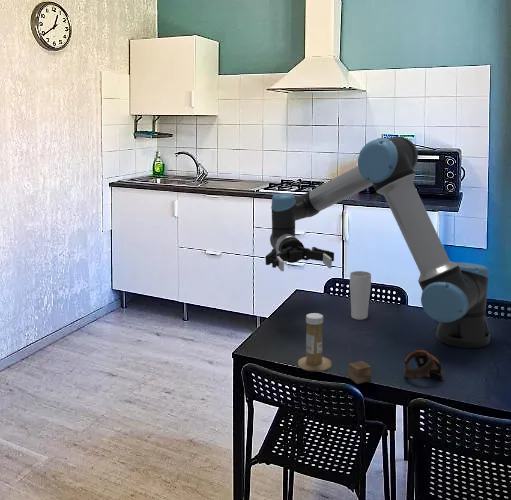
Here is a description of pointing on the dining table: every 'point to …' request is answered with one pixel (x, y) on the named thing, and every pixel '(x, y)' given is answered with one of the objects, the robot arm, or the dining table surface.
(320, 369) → the cork coaster
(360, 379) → the walnut block
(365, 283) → the drinking glass
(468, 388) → the dining table surface
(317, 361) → the sprinkles bottle
